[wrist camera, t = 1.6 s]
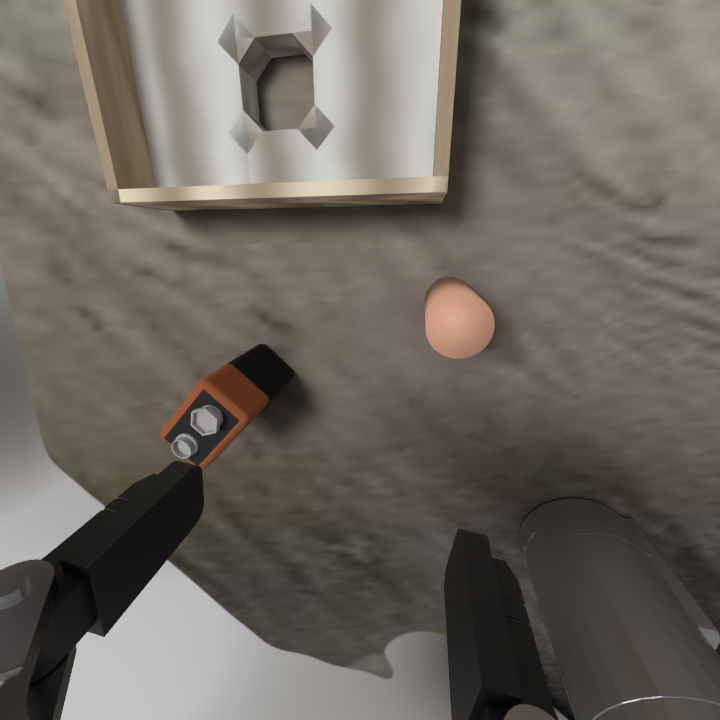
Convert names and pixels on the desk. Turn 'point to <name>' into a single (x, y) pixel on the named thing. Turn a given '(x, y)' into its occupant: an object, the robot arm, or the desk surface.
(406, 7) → the box
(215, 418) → the battery
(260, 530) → the desk surface
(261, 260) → the desk surface
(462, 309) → the peg
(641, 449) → the desk surface
